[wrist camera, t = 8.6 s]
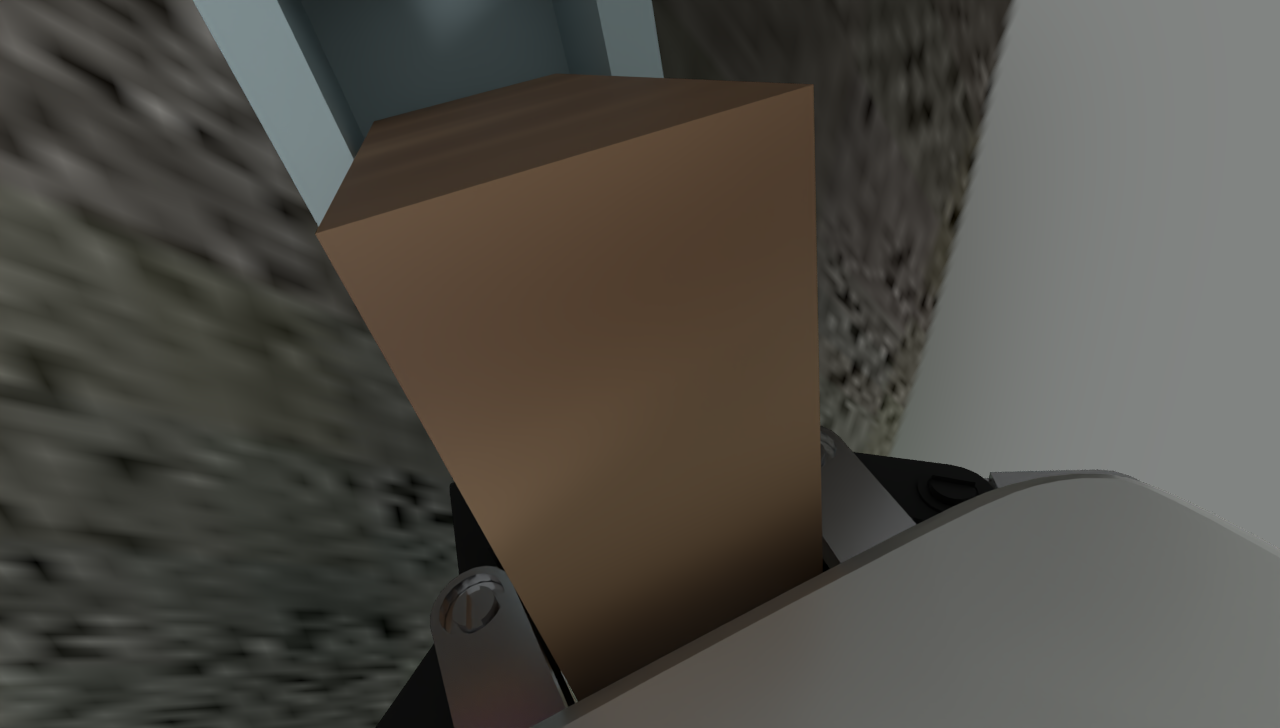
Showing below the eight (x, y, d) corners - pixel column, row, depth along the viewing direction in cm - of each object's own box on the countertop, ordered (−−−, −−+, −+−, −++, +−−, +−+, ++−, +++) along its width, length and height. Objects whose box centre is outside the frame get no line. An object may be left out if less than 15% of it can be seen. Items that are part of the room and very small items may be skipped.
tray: (707, 504, 22) (759, 578, 19) (527, 588, 21) (549, 685, 18) (588, -115, 11) (661, -186, 8) (186, -39, 10) (79, -90, 7)
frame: (675, 532, 18) (829, 794, 12) (577, 578, 17) (682, 887, 11) (558, 72, 10) (818, 83, 4) (374, 120, 10) (315, 233, 3)
